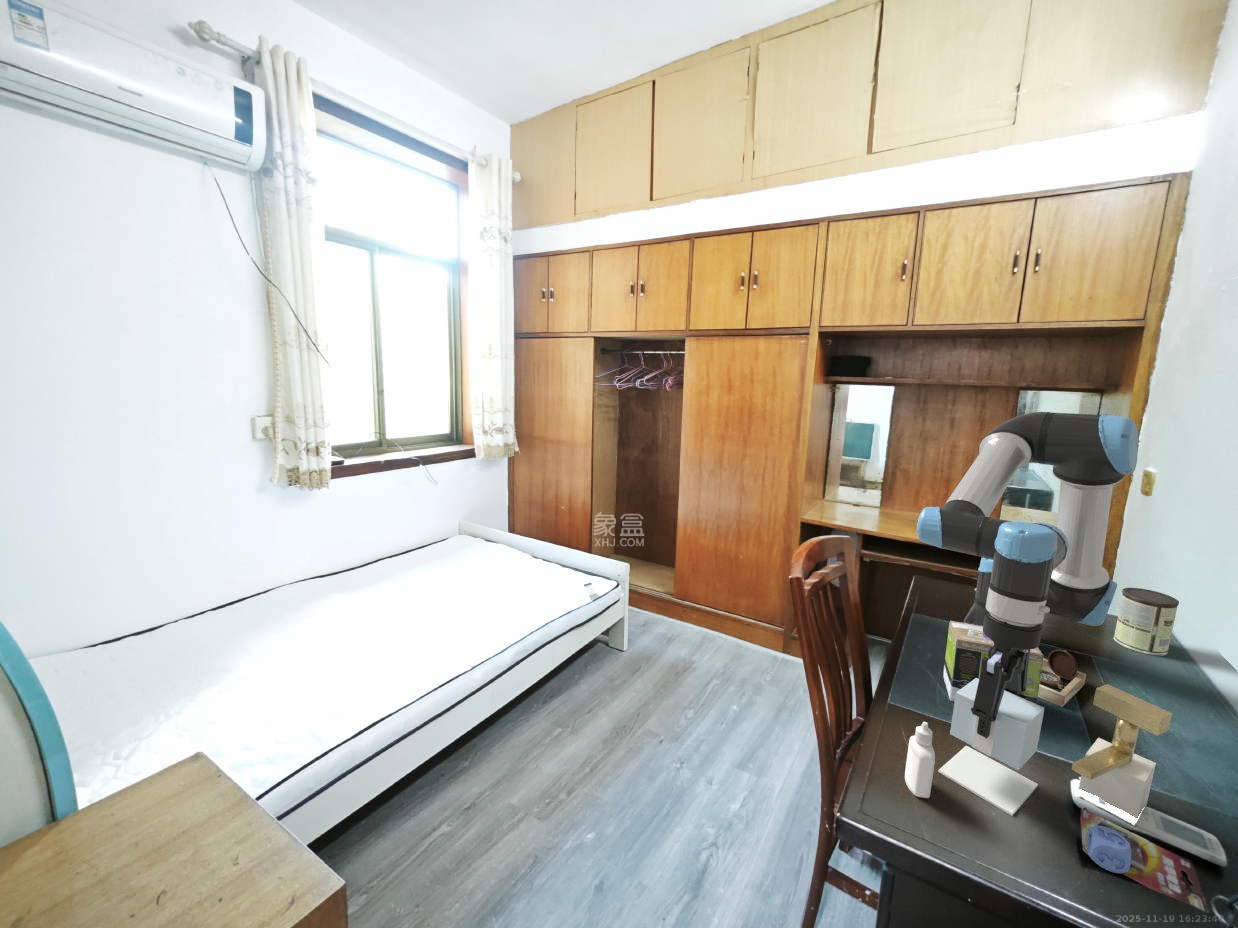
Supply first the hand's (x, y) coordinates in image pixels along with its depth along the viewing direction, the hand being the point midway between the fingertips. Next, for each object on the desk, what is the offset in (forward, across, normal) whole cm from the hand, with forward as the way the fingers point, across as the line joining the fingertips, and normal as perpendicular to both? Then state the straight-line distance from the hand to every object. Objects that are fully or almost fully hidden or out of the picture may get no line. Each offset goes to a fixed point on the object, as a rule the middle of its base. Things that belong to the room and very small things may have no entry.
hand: (993, 740), depth 87 cm
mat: (+8, 0, 0) cm, 8 cm away
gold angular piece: (-1, +8, -12) cm, 15 cm away
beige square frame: (+7, +44, +7) cm, 45 cm away
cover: (0, 0, 0) cm, 0 cm away
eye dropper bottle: (+8, -12, +6) cm, 15 cm away
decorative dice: (+8, -3, -16) cm, 18 cm away
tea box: (+8, +26, +10) cm, 29 cm away
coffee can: (+7, +87, -3) cm, 87 cm away
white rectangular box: (+7, +12, -14) cm, 20 cm away
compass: (+8, +46, +4) cm, 47 cm away
